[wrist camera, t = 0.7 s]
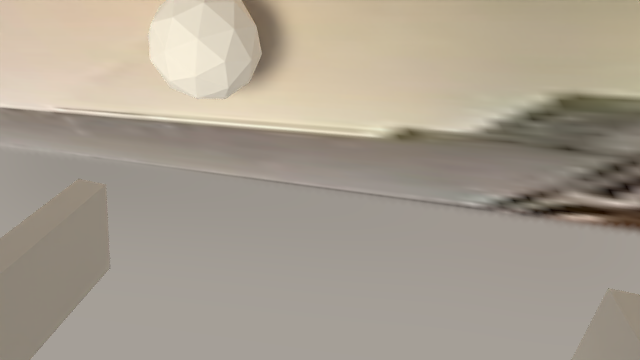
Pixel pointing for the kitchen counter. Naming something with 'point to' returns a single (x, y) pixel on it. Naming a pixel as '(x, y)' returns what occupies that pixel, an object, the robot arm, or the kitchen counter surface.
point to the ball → (204, 46)
